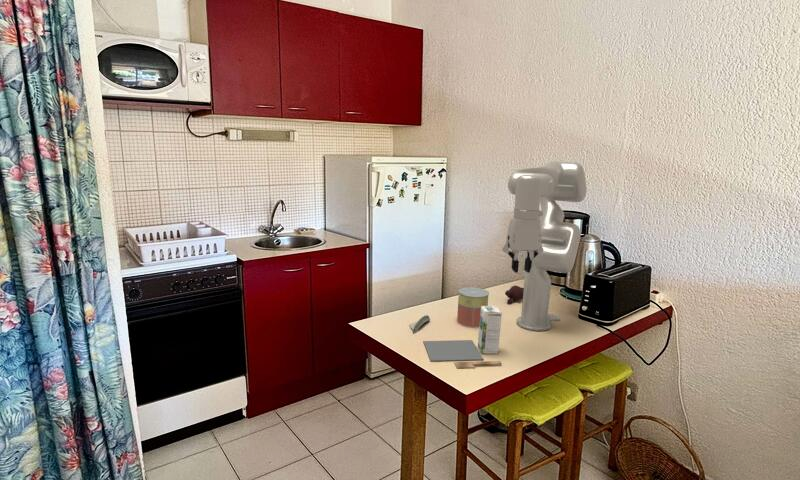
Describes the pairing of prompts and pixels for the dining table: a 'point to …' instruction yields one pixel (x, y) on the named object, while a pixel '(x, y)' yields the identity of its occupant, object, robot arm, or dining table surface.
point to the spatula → (476, 364)
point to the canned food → (471, 306)
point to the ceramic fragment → (419, 323)
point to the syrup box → (489, 329)
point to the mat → (452, 350)
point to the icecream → (514, 294)
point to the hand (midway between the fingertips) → (521, 270)
